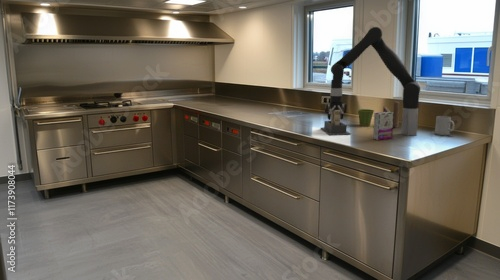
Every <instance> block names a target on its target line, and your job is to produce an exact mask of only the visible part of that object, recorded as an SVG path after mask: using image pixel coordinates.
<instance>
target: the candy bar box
mask: <svg viewBox="0 0 500 280" xmlns="http://www.w3.org/2000/svg"><path fill="white" fill-rule="evenodd" d="M393 113H394V112H392V111H390V112H383V111H380V112H373V114H374V116H373V117H374V119H373V137H372V139H373V140H375V139H376V140H375V141H384V139H385V140H391V139H393V131H394V130H393V129H394V127H393Z"/></svg>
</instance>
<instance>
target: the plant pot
mask: <svg viewBox="0 0 500 280" xmlns="http://www.w3.org/2000/svg"><path fill="white" fill-rule="evenodd" d="M357 113H358V121H359V126H361V127H369V126H371V122H372V118H373V114H374V113H375V110H374V109H369V108H361V109H360V108H359V109H357Z"/></svg>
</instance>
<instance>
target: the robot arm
mask: <svg viewBox="0 0 500 280" xmlns="http://www.w3.org/2000/svg"><path fill="white" fill-rule="evenodd" d="M369 47H372V48H373V49H374V50H375V51H376V53H377V54H378V56H379V58H380V60H381V61H382V62H383V63H384V65H385V67H386V68H387V70H388V71H389V73H391V74H392V75H393V76H394V77H395V79H397V81H399V83H400V84H401V86H402V88H403V92H402V93H403V94H402V115H401V128H400V134H401V135H404V136H407V137H409V136H413V137H414V136H418V135H417V133H418V132H417V131H418V124H419V123H418V118H419V117H418V116H419V108H420V107H419V106H420V105H419V104H420V103H419V101H420V100H419V99H420V92H421V87H420V85H419V83H418V82H417V81H416V80H415V79H414V78H413V77H412V75H411V74H410V73H409V71H408V70H407V67H406V66H405V64H404V63H403V62H402V59H400V57H399V56H398V54H397V53H396V52H395V51H394V50H392V49H391V48H390V46H388V45H387V44H386V42H385V40H384V39H383V31H382V29H381V28H380V27H378V26H374V27H371V28H370V29H369V30H368V31H367V32H366V34H365V35H364V37H363V38H362V39H361V40H360V41H359V42H358V43H357V44H356V45H354V46H353V47H352V48H351V49H350V50H349V51H348V52H347V53H345V55H343V57H341V58H340V59H339V60H337V61H336V62H335V63H334V64H333V65H332V66H331V67H330V72H331V74H332V78H331V82H330V93H329V94H330V95H329V96H330V98H329V99H330V101H329V102H330V103H328V104H327V103H325V104H324V105H325V106H324V113H325V114H327V119H328V121H331V112H332V111H333V110H340V120H343V119H344V114H346V113H347V106H348V105H347V103H343V79H344V73H345V72H344V71H345V70H344V69H346V68H347V67H349V66H350V65H352V64H353V63H355V62H356V60H357V59H358V58H360V56H361V55H362V54H363V53H364V52H365V51H366V50H367V49H368V48H369ZM329 107H330V108H329ZM342 108H343V109H342Z"/></svg>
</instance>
